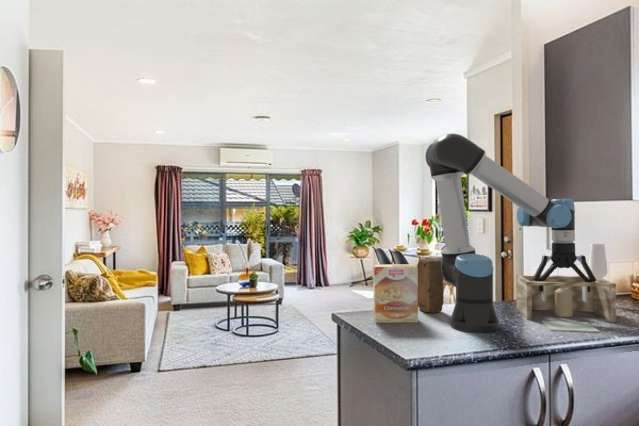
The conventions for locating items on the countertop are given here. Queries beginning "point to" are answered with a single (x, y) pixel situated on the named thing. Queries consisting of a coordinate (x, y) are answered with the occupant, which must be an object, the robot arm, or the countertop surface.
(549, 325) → the mat
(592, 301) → the access cubby
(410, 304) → the coffeecake box
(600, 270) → the champagne flute
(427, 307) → the block
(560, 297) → the candle
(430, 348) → the countertop surface
